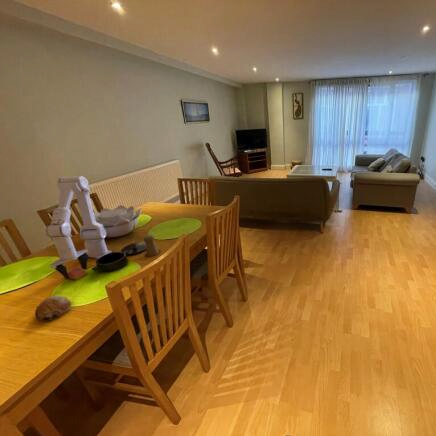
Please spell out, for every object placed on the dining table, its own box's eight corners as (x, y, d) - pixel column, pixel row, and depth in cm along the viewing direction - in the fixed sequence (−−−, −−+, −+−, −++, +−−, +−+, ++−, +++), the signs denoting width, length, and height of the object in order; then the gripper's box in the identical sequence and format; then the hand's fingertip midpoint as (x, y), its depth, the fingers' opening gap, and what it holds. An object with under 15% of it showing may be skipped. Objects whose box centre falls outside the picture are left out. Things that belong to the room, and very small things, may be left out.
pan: (86, 273, 117) (83, 265, 115) (120, 255, 133) (118, 247, 131) (104, 277, 113) (102, 269, 112) (137, 258, 129) (135, 251, 127)
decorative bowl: (99, 250, 137) (91, 226, 132) (83, 236, 154) (75, 214, 148) (153, 232, 160) (148, 211, 154) (134, 221, 176) (129, 202, 171)
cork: (145, 256, 131) (140, 238, 127) (148, 251, 136) (143, 233, 132) (157, 255, 132) (153, 237, 128) (159, 249, 138) (155, 232, 134)
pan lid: (115, 253, 134) (113, 245, 132) (136, 242, 146) (134, 235, 144) (133, 257, 130) (131, 249, 129) (154, 246, 142) (152, 238, 140)
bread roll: (78, 312, 97) (78, 292, 98) (53, 322, 87) (54, 300, 88) (52, 313, 97) (53, 293, 98) (25, 323, 87) (26, 300, 87)
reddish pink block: (67, 277, 114) (65, 272, 113) (78, 272, 118) (75, 267, 116) (76, 279, 112) (74, 274, 111) (86, 274, 116) (84, 269, 115)
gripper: (52, 257, 102) (64, 284, 107) (88, 242, 114) (97, 266, 119) (42, 255, 104) (53, 281, 109) (78, 240, 116) (87, 264, 121)
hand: (76, 273), depth 114 cm, fingers open, 7 cm apart
